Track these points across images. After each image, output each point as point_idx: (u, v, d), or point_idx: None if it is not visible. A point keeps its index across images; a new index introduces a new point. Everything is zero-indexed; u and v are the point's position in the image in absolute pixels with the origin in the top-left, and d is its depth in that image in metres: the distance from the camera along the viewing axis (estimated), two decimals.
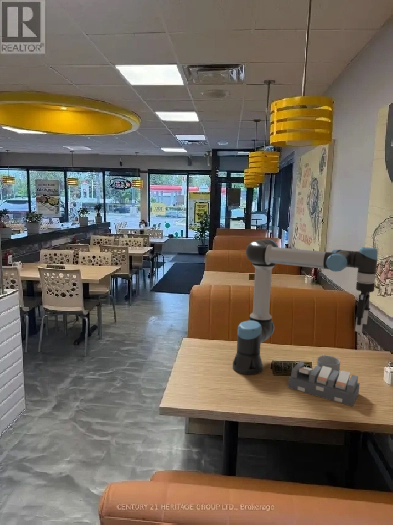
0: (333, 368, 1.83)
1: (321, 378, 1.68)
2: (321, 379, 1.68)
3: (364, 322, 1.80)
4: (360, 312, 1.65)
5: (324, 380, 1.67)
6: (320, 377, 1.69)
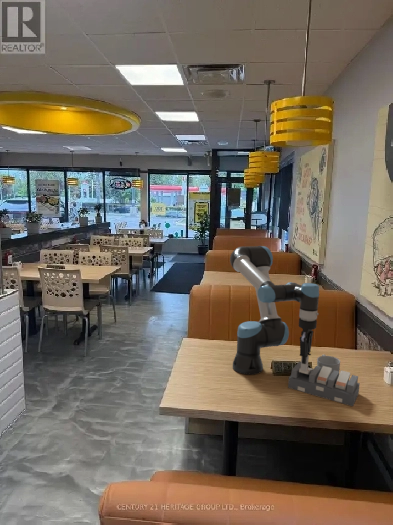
0: (333, 368, 1.83)
1: (321, 378, 1.68)
2: (321, 379, 1.68)
3: None
4: (303, 353, 1.66)
5: (324, 380, 1.67)
6: (320, 377, 1.69)
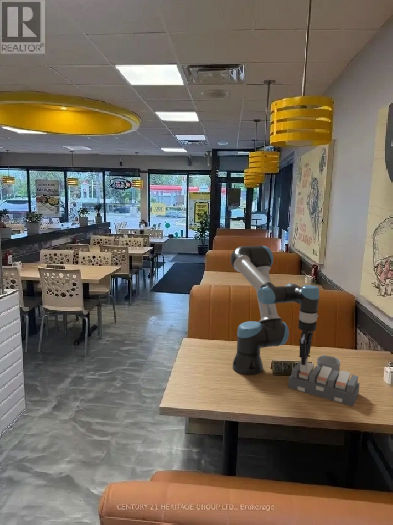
0: (333, 368, 1.83)
1: (321, 378, 1.68)
2: (321, 379, 1.68)
3: None
4: (303, 354, 1.67)
5: (324, 380, 1.67)
6: (320, 377, 1.69)
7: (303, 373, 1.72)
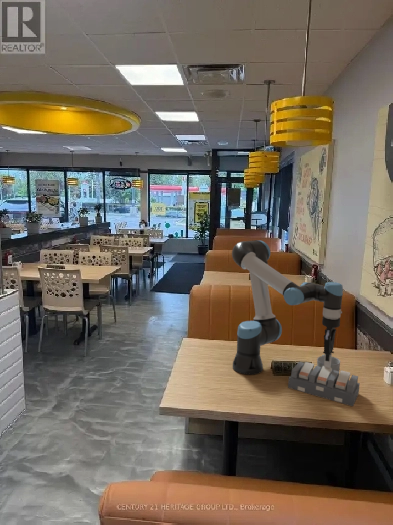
0: (333, 368, 1.83)
1: (321, 378, 1.68)
2: (321, 379, 1.68)
3: None
4: (327, 350, 1.69)
5: (324, 380, 1.67)
6: (320, 377, 1.69)
7: (303, 373, 1.72)
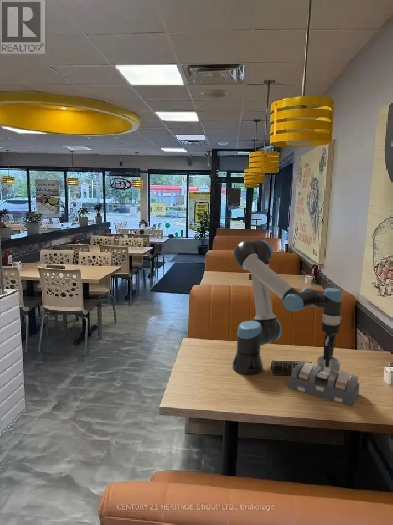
0: (333, 368, 1.83)
1: (322, 373, 1.68)
2: (322, 373, 1.68)
3: None
4: (327, 356, 1.70)
5: (325, 374, 1.67)
6: (321, 373, 1.69)
7: (303, 373, 1.72)
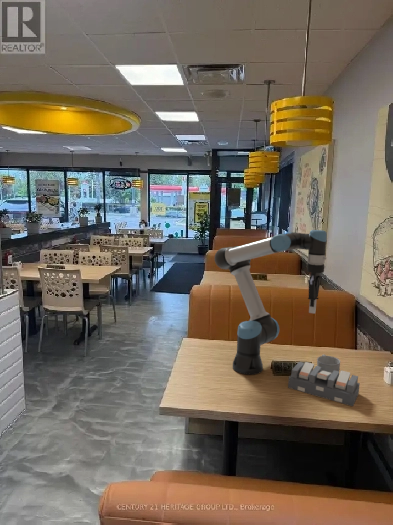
0: (333, 368, 1.83)
1: (322, 374, 1.68)
2: (322, 374, 1.68)
3: None
4: (312, 295, 1.75)
5: (325, 375, 1.67)
6: (321, 373, 1.69)
7: (303, 373, 1.72)
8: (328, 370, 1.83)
